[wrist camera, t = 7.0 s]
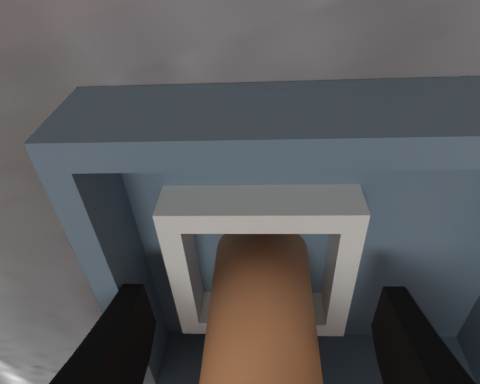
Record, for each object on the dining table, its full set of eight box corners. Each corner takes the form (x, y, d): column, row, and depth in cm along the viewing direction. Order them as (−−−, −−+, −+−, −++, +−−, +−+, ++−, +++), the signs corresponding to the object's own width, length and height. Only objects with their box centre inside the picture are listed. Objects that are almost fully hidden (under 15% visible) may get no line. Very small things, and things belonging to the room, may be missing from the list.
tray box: (616, 72, 9) (733, 132, 7) (463, 334, 17) (495, 405, 15) (77, 87, 10) (23, 144, 8) (157, 328, 18) (141, 394, 16)
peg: (324, 261, 13) (364, 513, 8) (252, 291, 15) (245, 526, 9) (273, 205, 12) (281, 469, 7) (198, 245, 13) (152, 493, 8)
